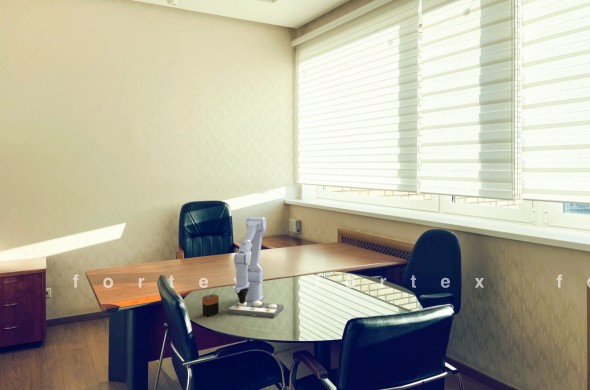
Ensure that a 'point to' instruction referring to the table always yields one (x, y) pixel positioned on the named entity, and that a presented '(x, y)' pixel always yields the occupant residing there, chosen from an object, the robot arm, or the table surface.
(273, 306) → the button
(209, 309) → the battery
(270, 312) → the button board
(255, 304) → the button
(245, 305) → the button
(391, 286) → the table surface
